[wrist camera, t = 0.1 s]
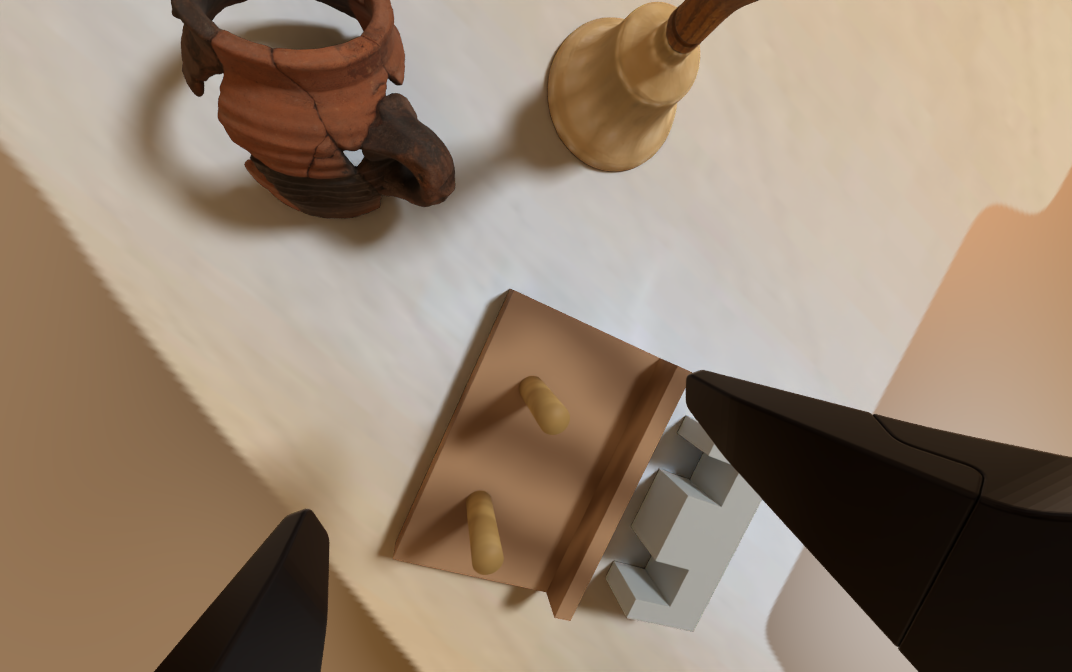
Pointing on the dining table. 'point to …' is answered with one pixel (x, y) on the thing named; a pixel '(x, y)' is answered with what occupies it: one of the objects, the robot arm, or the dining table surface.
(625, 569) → the grey notched panel
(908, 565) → the robot arm
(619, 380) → the board
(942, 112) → the dining table surface
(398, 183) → the brown curved piece
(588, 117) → the hand bell
